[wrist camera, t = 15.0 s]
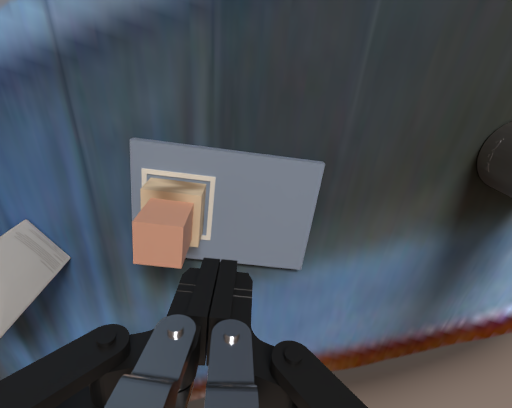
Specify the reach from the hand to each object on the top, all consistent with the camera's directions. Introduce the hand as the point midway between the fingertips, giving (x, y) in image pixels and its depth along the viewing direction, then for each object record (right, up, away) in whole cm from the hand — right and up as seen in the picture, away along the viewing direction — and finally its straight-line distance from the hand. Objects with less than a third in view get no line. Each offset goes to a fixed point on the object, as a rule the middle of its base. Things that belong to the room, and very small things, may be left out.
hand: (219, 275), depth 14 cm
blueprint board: (-3, +3, +28) cm, 29 cm away
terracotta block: (-8, +1, +23) cm, 25 cm away
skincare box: (-30, -3, +31) cm, 43 cm away
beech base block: (-9, +3, +27) cm, 28 cm away
